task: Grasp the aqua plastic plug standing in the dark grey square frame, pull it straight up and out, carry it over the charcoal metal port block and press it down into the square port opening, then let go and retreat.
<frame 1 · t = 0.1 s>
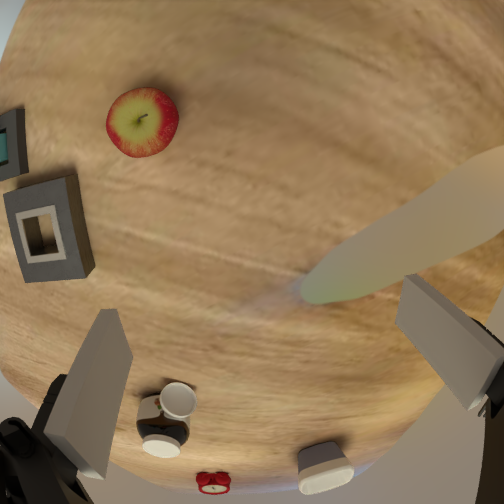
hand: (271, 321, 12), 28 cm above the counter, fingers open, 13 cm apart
alarm clock: (213, 476, 66), on the counter
spice jar: (168, 397, 51), on the counter
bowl: (317, 451, 66), on the counter
port: (53, 226, 36), on the counter
dark grey square frame: (4, 148, 30), on the counter
apple: (150, 124, 34), on the counter
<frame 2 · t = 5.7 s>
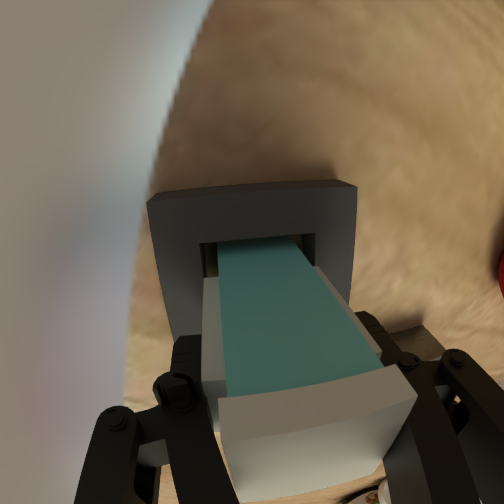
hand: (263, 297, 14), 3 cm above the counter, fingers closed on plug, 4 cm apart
spice jar: (368, 489, 38), on the counter
port: (349, 398, 23), on the counter
dark grey square frame: (254, 270, 17), on the counter
plug: (275, 333, 11), in the dark grey square frame, touching gripper
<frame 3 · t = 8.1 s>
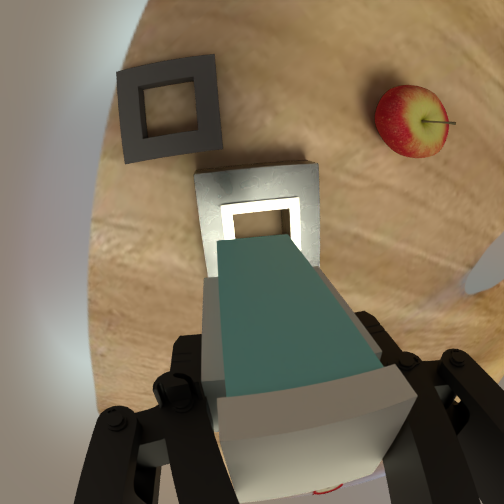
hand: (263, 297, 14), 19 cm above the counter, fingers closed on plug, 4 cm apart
alarm clock: (325, 476, 65), on the counter
port: (257, 225, 33), on the counter
dark grey square frame: (170, 109, 27), on the counter
apple: (390, 121, 30), on the counter
plug: (274, 333, 11), point 22 cm above the counter, touching gripper
when the fingers open (5 cm above the counter, at t = 10.9 s): plug drops 2 cm, resting in port.
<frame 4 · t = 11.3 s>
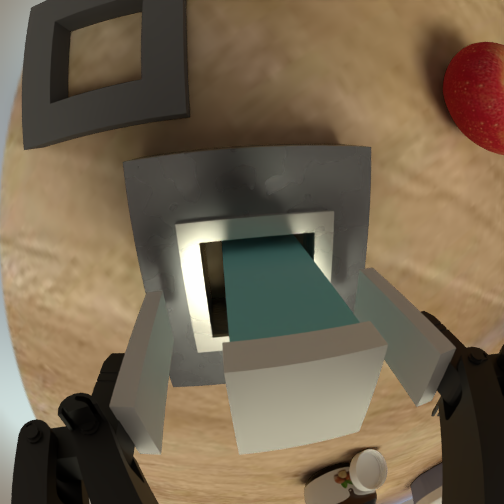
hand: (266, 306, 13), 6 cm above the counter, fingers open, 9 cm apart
spice jar: (339, 465, 34), on the counter
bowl: (428, 472, 49), on the counter
port: (250, 257, 19), on the counter
dark grey square frame: (106, 55, 13), on the counter
apple: (457, 98, 16), on the counter
plug: (271, 307, 13), in the port
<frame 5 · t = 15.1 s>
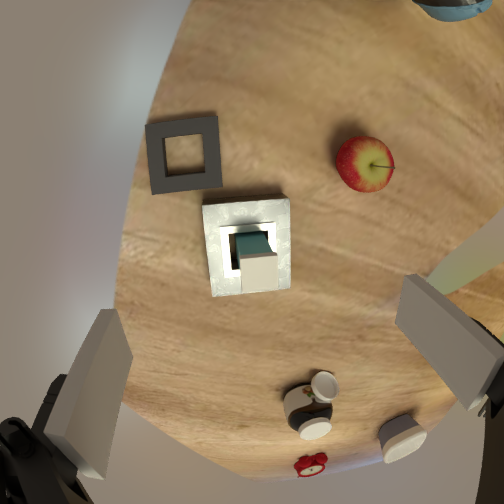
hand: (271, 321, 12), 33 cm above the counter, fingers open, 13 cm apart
alarm clock: (309, 459, 77), on the counter
spice jar: (307, 386, 60), on the counter
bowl: (393, 425, 76), on the counter
port: (246, 240, 46), on the counter
dark grey square frame: (185, 154, 40), on the counter
apple: (350, 161, 43), on the counter
plug: (253, 255, 40), in the port
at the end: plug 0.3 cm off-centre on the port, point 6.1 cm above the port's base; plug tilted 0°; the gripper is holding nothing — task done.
